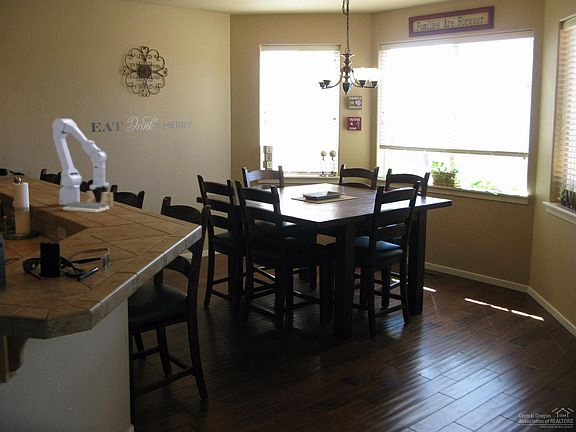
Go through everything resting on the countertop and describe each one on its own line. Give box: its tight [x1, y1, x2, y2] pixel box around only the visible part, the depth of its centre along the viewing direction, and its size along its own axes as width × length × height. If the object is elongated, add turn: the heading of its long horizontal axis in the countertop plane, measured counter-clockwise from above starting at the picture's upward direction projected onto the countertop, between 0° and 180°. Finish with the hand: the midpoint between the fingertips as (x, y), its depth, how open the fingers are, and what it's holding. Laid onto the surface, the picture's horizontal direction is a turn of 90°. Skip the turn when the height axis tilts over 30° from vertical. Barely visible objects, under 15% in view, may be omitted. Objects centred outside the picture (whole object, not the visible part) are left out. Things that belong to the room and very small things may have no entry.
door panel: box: [85, 190, 114, 208], centre depth 305 cm, size 14×2×7 cm, turn 75°
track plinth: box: [62, 201, 110, 213], centre depth 294 cm, size 18×12×3 cm, turn 75°
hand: (99, 201), depth 305 cm, fingers closed on door panel, 2 cm apart
